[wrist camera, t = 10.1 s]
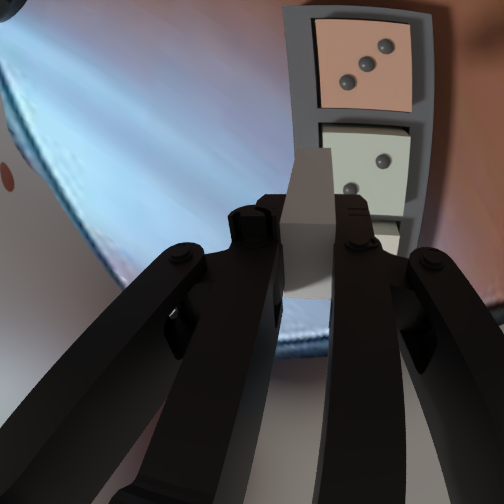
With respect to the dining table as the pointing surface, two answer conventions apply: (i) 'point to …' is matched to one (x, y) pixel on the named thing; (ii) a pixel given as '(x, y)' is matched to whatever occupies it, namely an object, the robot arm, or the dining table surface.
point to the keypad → (414, 123)
